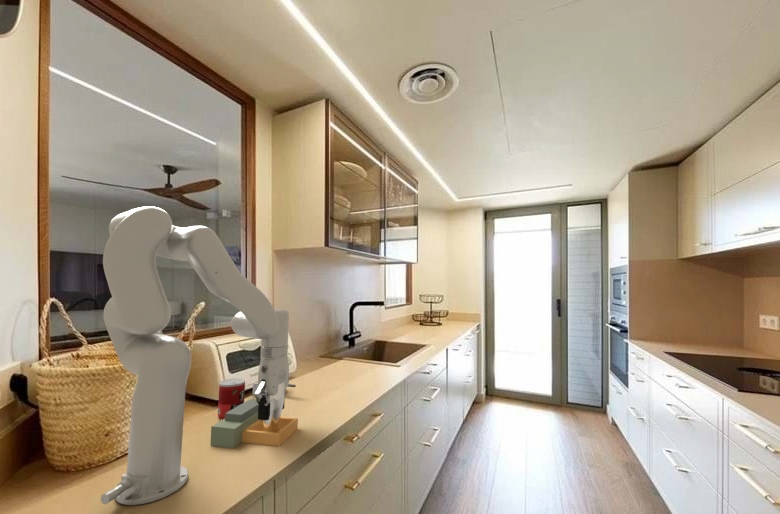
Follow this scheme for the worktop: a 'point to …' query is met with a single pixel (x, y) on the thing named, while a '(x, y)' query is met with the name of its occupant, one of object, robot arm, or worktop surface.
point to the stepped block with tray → (249, 428)
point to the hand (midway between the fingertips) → (271, 413)
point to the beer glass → (274, 410)
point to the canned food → (230, 395)
